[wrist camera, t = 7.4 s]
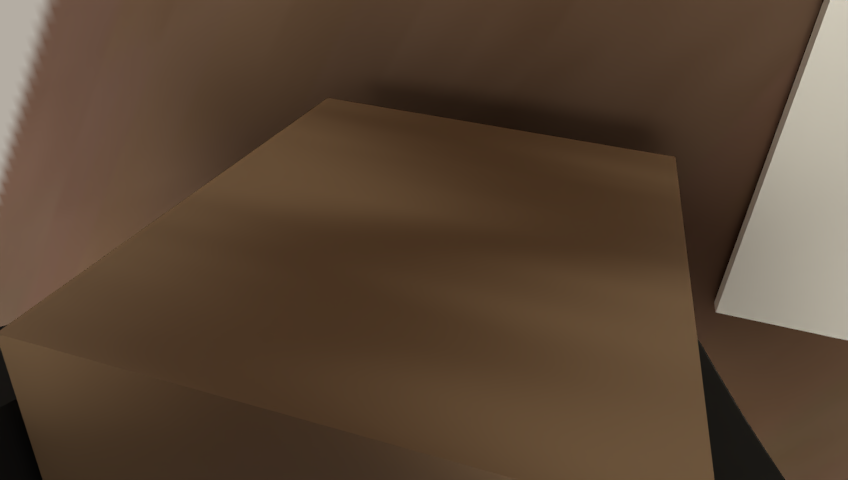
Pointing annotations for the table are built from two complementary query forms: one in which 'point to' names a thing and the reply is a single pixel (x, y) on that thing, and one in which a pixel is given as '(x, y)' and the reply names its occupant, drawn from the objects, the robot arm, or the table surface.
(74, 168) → the table surface
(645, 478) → the walnut block
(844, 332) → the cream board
